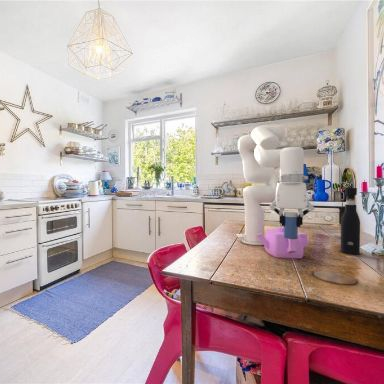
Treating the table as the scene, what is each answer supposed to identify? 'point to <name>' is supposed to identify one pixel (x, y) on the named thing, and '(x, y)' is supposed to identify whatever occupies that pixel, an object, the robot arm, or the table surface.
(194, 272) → the table surface
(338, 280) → the coaster
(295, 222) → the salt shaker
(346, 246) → the black water bottle
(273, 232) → the teakettle
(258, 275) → the table surface
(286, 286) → the table surface
